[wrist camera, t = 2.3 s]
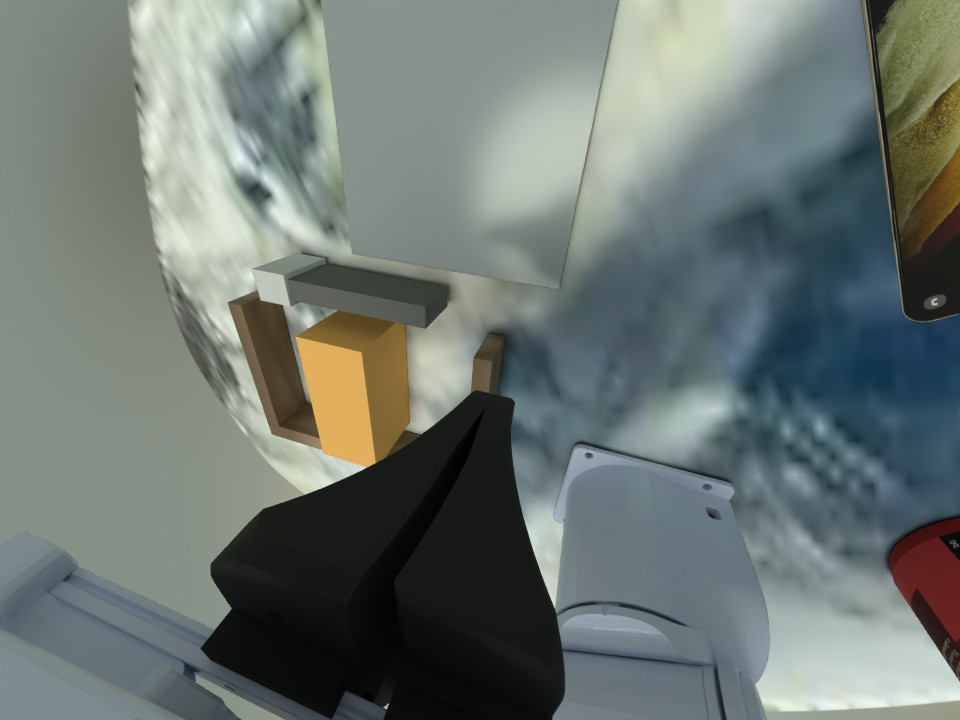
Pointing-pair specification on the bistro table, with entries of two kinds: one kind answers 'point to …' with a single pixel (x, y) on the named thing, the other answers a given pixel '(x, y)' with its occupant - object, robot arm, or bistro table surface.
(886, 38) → the smartphone
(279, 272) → the gray rectangular bar
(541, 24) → the slate tile
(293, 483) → the bistro table surface
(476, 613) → the robot arm
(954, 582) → the canned food
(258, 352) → the walnut cradle
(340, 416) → the tall tan rectangular prism
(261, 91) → the bistro table surface
